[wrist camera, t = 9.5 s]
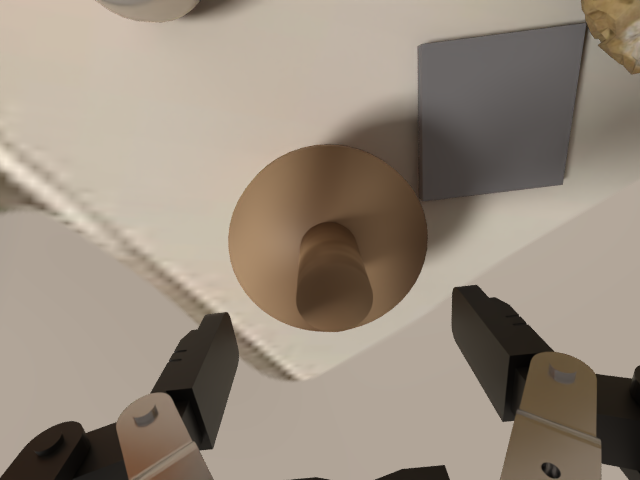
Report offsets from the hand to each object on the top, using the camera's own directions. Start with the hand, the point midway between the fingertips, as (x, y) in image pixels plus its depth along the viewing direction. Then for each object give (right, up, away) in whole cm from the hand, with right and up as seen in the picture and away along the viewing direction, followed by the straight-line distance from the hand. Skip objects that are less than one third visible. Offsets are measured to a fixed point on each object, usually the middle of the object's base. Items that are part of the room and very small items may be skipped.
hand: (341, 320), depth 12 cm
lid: (0, +3, +7) cm, 7 cm away
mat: (+10, +10, +9) cm, 17 cm away
